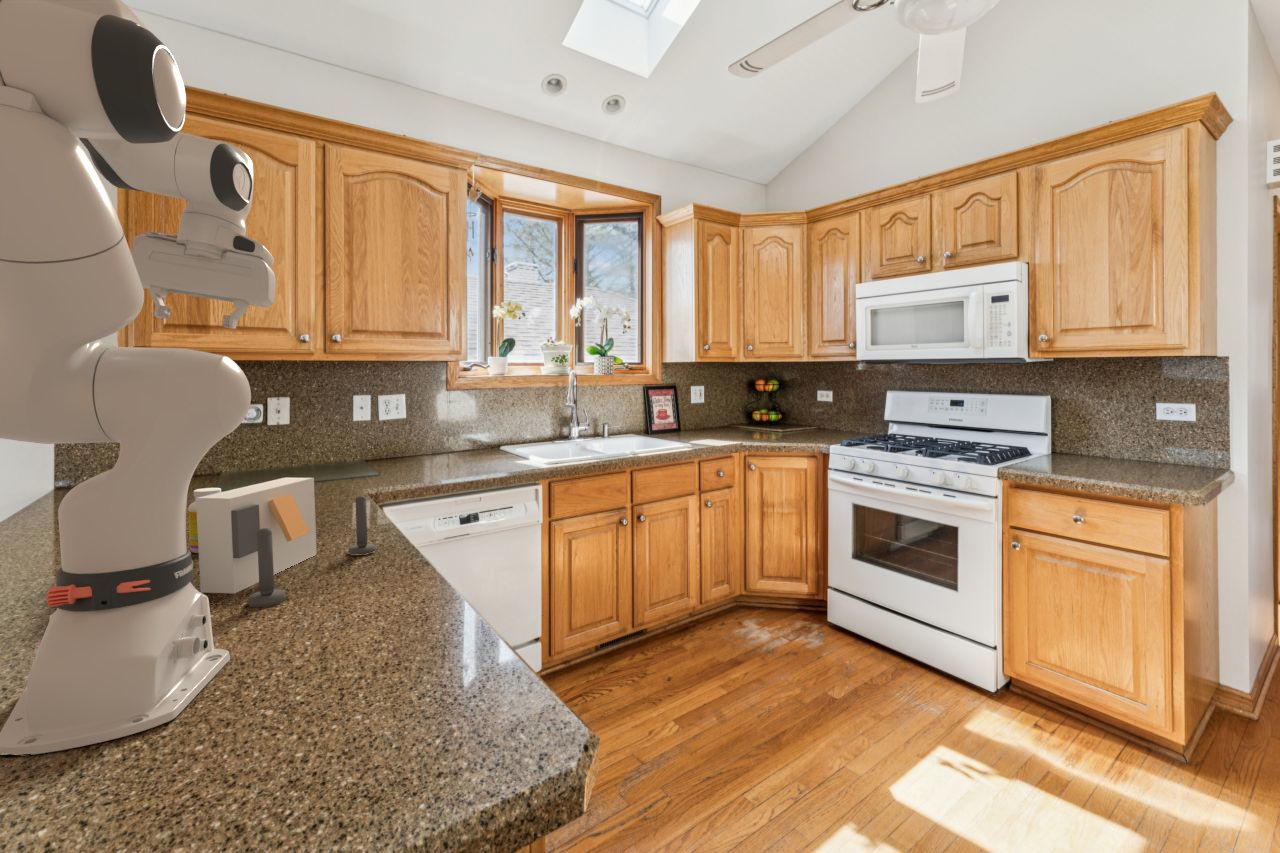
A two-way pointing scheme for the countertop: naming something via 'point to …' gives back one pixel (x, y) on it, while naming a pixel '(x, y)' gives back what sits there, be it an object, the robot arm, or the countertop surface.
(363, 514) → the post
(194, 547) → the supplement bottle
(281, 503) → the orange paddle
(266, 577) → the post
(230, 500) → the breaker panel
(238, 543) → the black paddle
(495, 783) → the countertop surface
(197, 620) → the robot arm
